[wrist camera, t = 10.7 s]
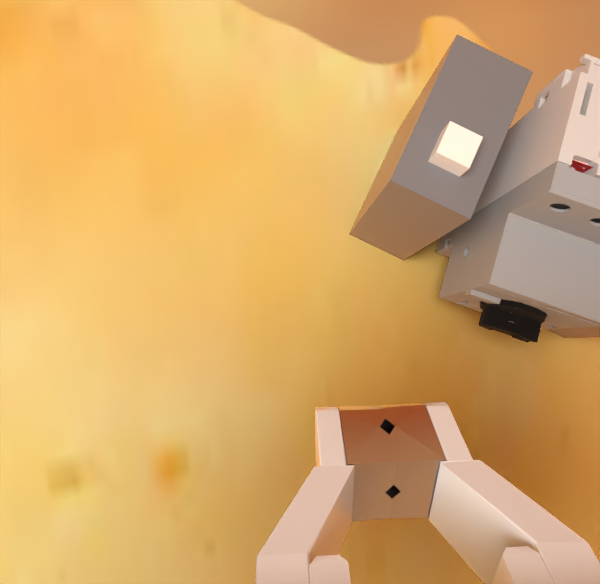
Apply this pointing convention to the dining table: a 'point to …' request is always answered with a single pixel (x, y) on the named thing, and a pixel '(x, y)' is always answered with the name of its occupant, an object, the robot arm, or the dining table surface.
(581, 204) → the circuit breaker
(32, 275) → the dining table surface
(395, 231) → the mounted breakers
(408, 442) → the robot arm
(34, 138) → the dining table surface
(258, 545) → the dining table surface
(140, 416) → the dining table surface
